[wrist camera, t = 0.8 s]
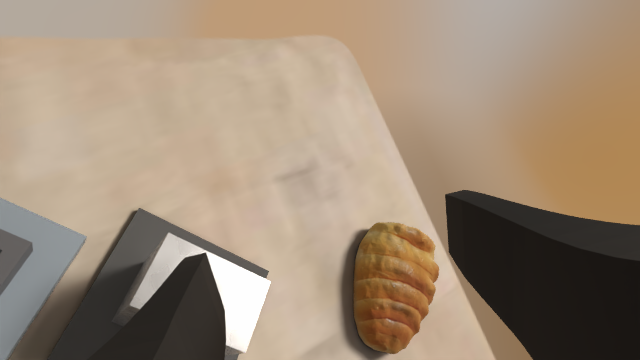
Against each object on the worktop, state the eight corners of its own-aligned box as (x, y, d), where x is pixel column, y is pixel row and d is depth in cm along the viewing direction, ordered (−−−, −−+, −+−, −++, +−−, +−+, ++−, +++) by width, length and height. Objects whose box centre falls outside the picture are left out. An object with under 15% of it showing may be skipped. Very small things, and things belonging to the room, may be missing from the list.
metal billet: (205, 358, 24) (245, 352, 19) (111, 321, 22) (129, 305, 17) (229, 300, 26) (270, 281, 21) (144, 261, 24) (168, 232, 19)
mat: (211, 422, 23) (214, 422, 23) (44, 364, 20) (44, 364, 20) (266, 272, 28) (268, 271, 28) (137, 209, 25) (139, 207, 25)
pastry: (405, 367, 31) (443, 365, 28) (331, 334, 29) (363, 328, 26) (421, 255, 36) (454, 243, 33) (358, 220, 34) (388, 204, 31)
